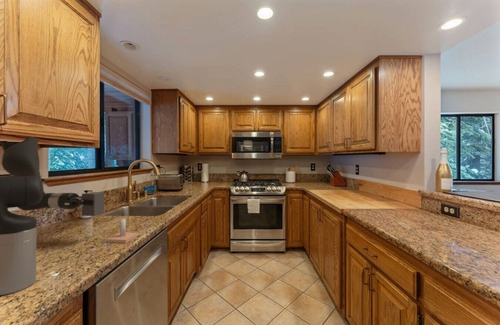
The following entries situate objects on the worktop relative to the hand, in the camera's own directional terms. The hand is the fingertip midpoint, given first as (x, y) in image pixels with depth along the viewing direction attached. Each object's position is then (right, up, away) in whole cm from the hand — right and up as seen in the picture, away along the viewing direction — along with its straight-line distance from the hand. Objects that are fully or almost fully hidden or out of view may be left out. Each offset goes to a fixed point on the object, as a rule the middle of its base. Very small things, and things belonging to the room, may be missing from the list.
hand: (98, 201), depth 100 cm
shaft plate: (+9, -19, +4) cm, 21 cm away
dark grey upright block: (-3, -6, 0) cm, 6 cm away
